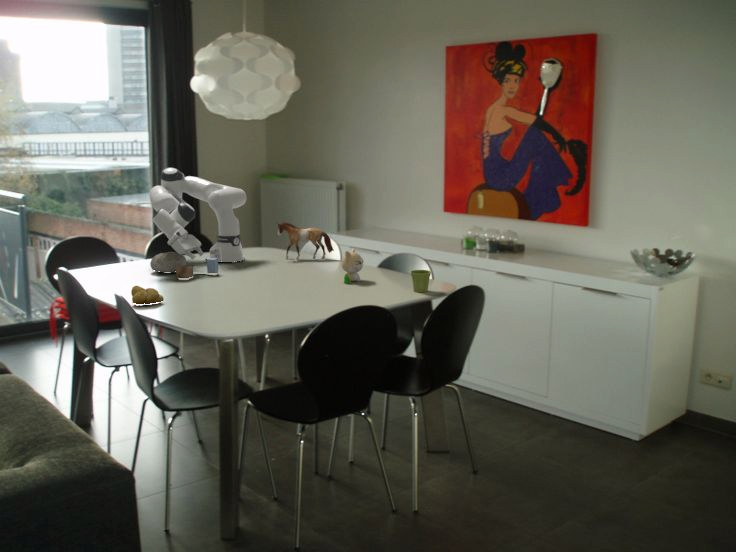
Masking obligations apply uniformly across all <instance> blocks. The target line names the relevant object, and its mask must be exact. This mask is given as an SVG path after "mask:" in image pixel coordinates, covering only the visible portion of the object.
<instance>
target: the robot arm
mask: <svg viewBox="0 0 736 552" xmlns="http://www.w3.org/2000/svg"><path fill="white" fill-rule="evenodd" d="M183 193H184V194H188V196H191V197H193V198H194V199H198V200H201V201H202V202H205V203H207V204H208V205H209V208H211V209H212V210H213V212H214V214H215V216H216V219H217V226H218V235H215V236H216V237H215V238H216V243H215V244H213V245H212V246H211V247H210V249H209V256H207V257H205V258H206V259H209V258H218V262H221V261H222V262H232V263H237V262H236V261H240V262H243V261H244V260H245V259H244V258H245V256H244V251H243V246H242V243H241V241H242V236H241V234H240V233H241V232H240V221H239V218H237V217H236V215H235V214H234V213H235V212H234V209H237V208H239V207H242V206H244V205H245V204H246V201H247V199H248V197H247V193H246V192H245V190H243V189H241V188H238V187H233V186H229V185H225V184H220V183H215V182H212V181H209V180H207V179H204V178H201V177H198V176H191V175H188V176H187V175H186V176H185V174H184V173H183V172H181V171H180V170H179V169H177V168H176V167H175V168H174V167H166V168H164V169H163V170H162V171H161V174H160V185H155V186H153V187H151V188H150V191H149V200H150V203H151V205H152V207H153V210H155V214H153V216H152V219H151V220H152V221H153V223H154V225H155V226H156V227H157V228H158V229H159V230H160V231H161V232H162V233H163V234H164V235H165V236H166V237H167V239H168V241H167V245H168V246H171V248H172V249H173V250H174V252H177V253H179V254H180V255H183V256H184V255H185V256H187V257H189V258H190V259H191V260H195V258H196V255H195V254H194V253H192V252H193V251H195V252H197V253H198V255H199V256H200V257H202V256H203V255H204V252H203V251H202V248H201V246H202V243H201V241H200V240H199V239H198V238H196V236H195V235H193V234H189V232H188V231H187V229H185V227H186V226H188V224H189V223H191V222H192V221H193V220H194V219H195V218H196V211H195V209H194V207H193V206H191V205H190V204H189V203H187V202H186V201H185V200H184V199H183V198H184V197H183ZM208 257H209V258H208ZM242 260H243V261H242ZM234 261H235V262H234Z"/></svg>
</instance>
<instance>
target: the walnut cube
mask: <svg viewBox="0 0 736 552" xmlns="http://www.w3.org/2000/svg"><path fill="white" fill-rule="evenodd" d="M193 271H194V266H193V265H186V266H180V267H177V268H176V272H175V273H176V278H177V277H178V278H189V277H192V276H194V275H195V274H193Z"/></svg>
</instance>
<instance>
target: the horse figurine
mask: <svg viewBox="0 0 736 552" xmlns="http://www.w3.org/2000/svg"><path fill="white" fill-rule="evenodd" d="M275 224H277V236H279V237H281V236H282V233H283V232H284V231H285V232H286V233H287V234H288V237H289V240H290V242H289V244H288V246H287V247H286V252H285V259H286V258H287V259H289V250H290V249H291V247H292V246H293V245H294V247H295V248H296V249H295V250H296V252H297V256H296V257H295V259H298V260H299V257H300V256H301V255H300V254H301V253H300V249H299V242H300V243H301V242H308V241H310V242H311V244H312V245H313V246H314V247H315V251H314V253H313V256H312V260H313V259H314V260H315V259H316V255H317V253H318V252H319V251H318V250H320V248H321V250H322V256H321V259H325V258H326V250H325V247H326V249H327V252H328V253H329V254H331V253H332V252H334V251H335V249H334V248H333V245H332V242H331V238H330V236H329V235H328V233H326V232H325V231H323V230H320V229H319V228H316V227H309V228H300V227H297V226H296V225H294V224H292V223H290V222H280V223H277V222H276V223H275ZM322 239H323V240H324V244H323V242H322Z"/></svg>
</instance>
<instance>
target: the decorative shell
mask: <svg viewBox="0 0 736 552" xmlns="http://www.w3.org/2000/svg"><path fill="white" fill-rule="evenodd" d="M149 265H150V268H151V270H153V271H154V270H155V271H154V272H156V271H160V272H175V271H176V268H177V267H180V266H187V258H186V255H185V256H184V254H183V255H180V254H179V253H177V252H176V251H168V252H160V253H158V254H155V256H153V257H152V258H151V261H150V263H149ZM175 273H176V272H175Z"/></svg>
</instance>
